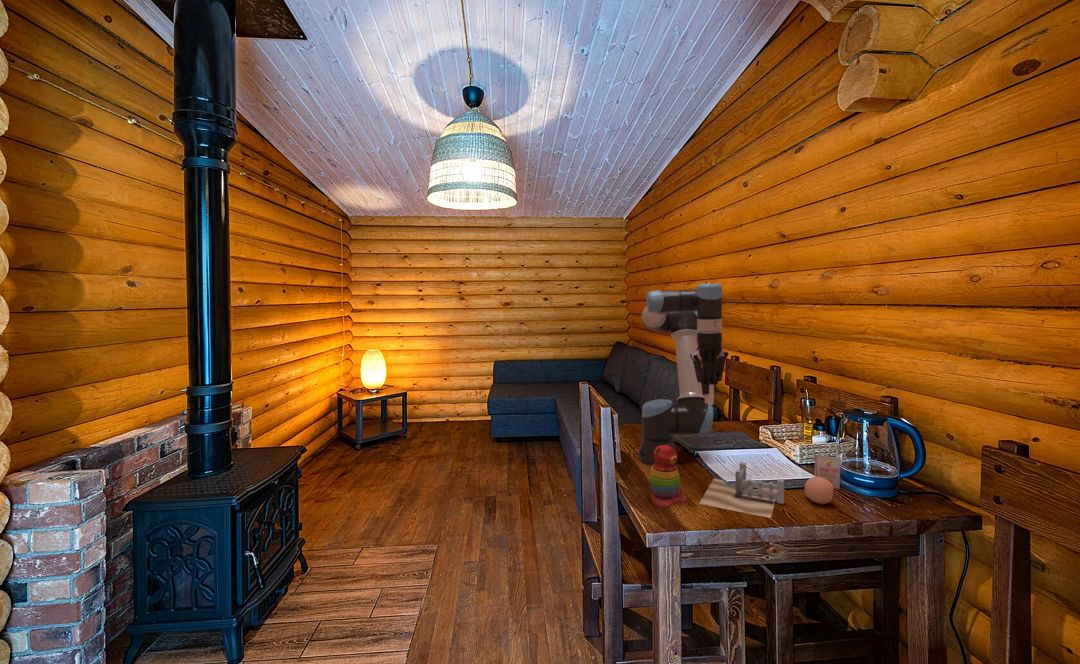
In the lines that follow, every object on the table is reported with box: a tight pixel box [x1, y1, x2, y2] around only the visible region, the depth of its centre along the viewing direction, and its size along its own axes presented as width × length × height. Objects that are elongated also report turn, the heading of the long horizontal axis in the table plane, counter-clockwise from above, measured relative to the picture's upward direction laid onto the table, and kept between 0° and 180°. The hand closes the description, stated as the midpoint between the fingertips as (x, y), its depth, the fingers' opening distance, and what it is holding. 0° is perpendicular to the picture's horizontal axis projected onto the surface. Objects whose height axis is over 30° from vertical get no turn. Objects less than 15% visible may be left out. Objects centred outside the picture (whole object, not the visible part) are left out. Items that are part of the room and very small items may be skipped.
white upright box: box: [814, 455, 841, 491], centre depth 153 cm, size 4×7×10 cm, turn 63°
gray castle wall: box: [743, 478, 785, 505], centre depth 143 cm, size 12×2×7 cm, turn 61°
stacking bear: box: [649, 444, 688, 509], centre depth 147 cm, size 11×10×18 cm
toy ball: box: [804, 476, 835, 505], centre depth 142 cm, size 8×8×8 cm
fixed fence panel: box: [734, 462, 747, 497], centre depth 151 cm, size 12×2×8 cm, turn 148°
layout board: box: [698, 478, 777, 519], centre depth 147 cm, size 22×20×1 cm
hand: (709, 403), depth 152 cm, fingers closed
